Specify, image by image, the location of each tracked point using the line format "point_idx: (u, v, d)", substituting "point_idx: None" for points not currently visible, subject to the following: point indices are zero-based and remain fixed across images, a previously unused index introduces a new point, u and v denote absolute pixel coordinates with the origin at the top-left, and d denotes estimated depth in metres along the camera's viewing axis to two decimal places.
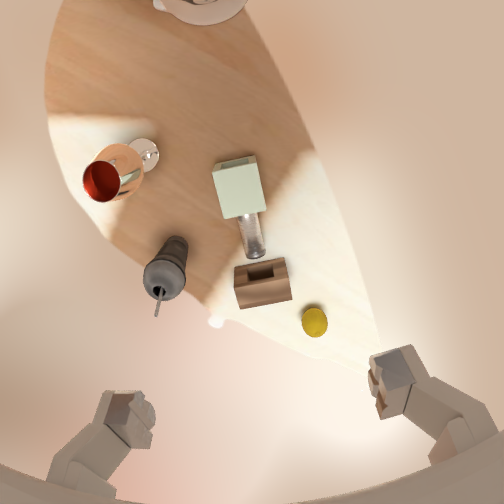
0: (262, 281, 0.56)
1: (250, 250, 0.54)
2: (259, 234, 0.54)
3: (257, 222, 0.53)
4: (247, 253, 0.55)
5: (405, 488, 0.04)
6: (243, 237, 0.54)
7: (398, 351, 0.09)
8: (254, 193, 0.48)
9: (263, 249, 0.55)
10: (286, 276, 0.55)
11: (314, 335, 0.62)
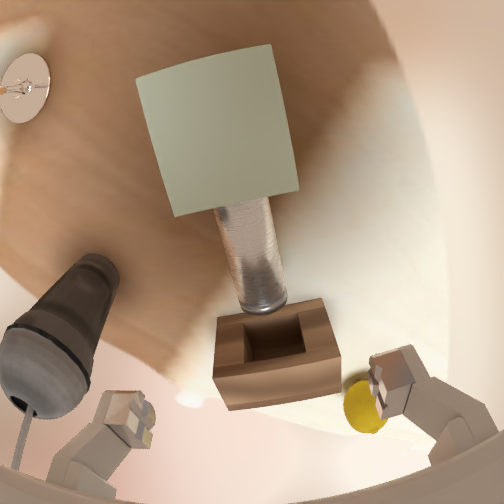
0: (279, 365, 0.22)
1: (251, 296, 0.21)
2: (274, 255, 0.20)
3: (270, 225, 0.20)
4: (243, 301, 0.22)
5: (404, 488, 0.04)
6: (232, 264, 0.21)
7: (398, 351, 0.09)
8: (264, 137, 0.15)
9: (283, 291, 0.22)
10: (335, 352, 0.22)
11: (367, 432, 0.29)
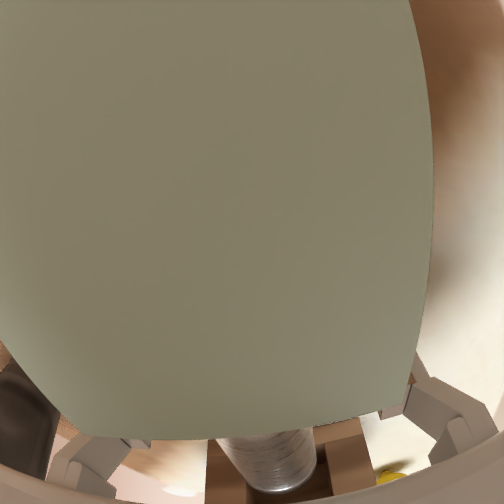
0: None
1: (259, 482, 0.10)
2: (304, 440, 0.09)
3: None
4: (246, 478, 0.11)
5: (404, 488, 0.04)
6: (226, 452, 0.09)
7: None
8: (333, 287, 0.04)
9: (312, 463, 0.11)
10: None
11: None
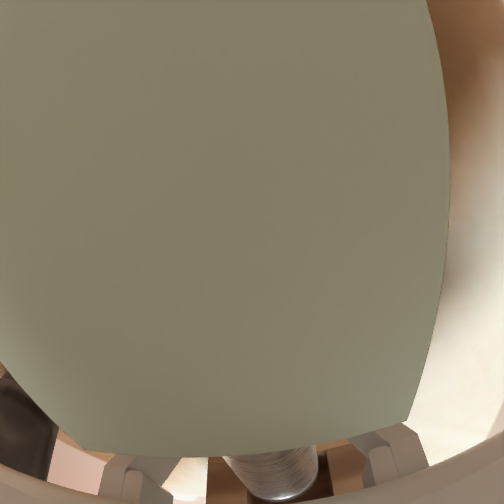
0: None
1: (261, 491, 0.10)
2: (306, 451, 0.09)
3: None
4: (247, 487, 0.10)
5: (405, 488, 0.04)
6: (227, 462, 0.09)
7: None
8: (342, 315, 0.03)
9: (314, 472, 0.10)
10: None
11: None
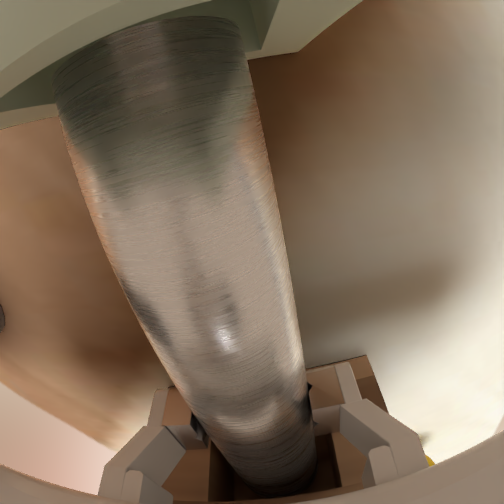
0: None
1: (260, 488, 0.10)
2: (306, 448, 0.09)
3: (304, 414, 0.08)
4: (247, 484, 0.10)
5: (404, 488, 0.04)
6: (227, 459, 0.09)
7: (333, 368, 0.09)
8: None
9: (313, 469, 0.11)
10: None
11: None
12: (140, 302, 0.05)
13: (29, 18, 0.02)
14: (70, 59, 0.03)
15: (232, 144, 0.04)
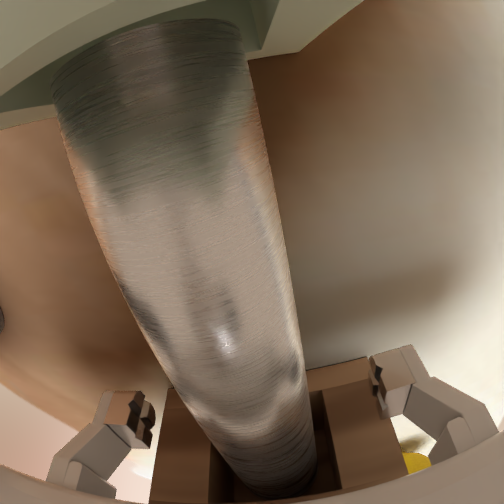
0: None
1: (261, 490, 0.10)
2: (306, 450, 0.09)
3: (304, 417, 0.08)
4: (247, 486, 0.10)
5: (404, 488, 0.04)
6: (227, 462, 0.09)
7: (398, 351, 0.09)
8: None
9: (313, 471, 0.11)
10: None
11: None
12: (140, 307, 0.05)
13: (25, 18, 0.02)
14: (69, 62, 0.03)
15: (233, 150, 0.04)
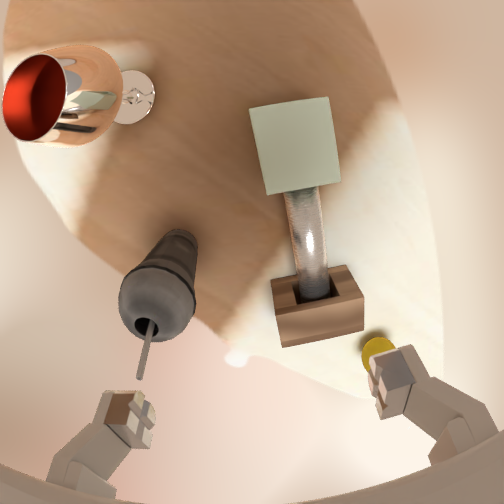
0: (322, 304, 0.33)
1: None
2: (327, 281, 0.34)
3: (326, 263, 0.34)
4: None
5: (405, 488, 0.04)
6: (303, 286, 0.34)
7: (398, 351, 0.09)
8: (322, 150, 0.26)
9: None
10: (360, 295, 0.33)
11: None
12: (299, 225, 0.31)
13: (301, 184, 0.27)
14: None
15: (316, 200, 0.30)
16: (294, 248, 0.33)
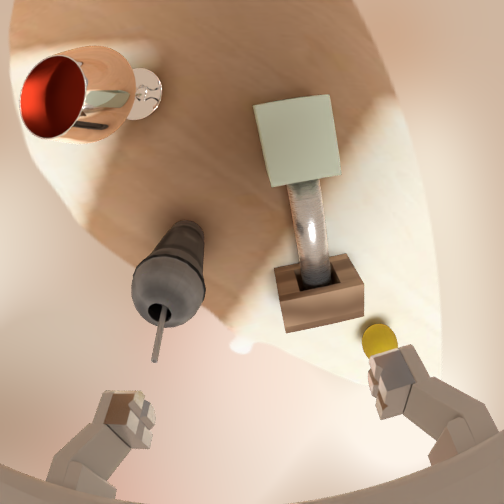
0: (324, 290, 0.35)
1: None
2: (328, 268, 0.36)
3: (327, 252, 0.35)
4: None
5: (405, 488, 0.04)
6: (306, 273, 0.36)
7: (398, 351, 0.09)
8: (324, 145, 0.27)
9: None
10: (359, 282, 0.35)
11: None
12: (301, 215, 0.32)
13: (303, 177, 0.29)
14: None
15: (318, 191, 0.31)
16: (297, 237, 0.35)
